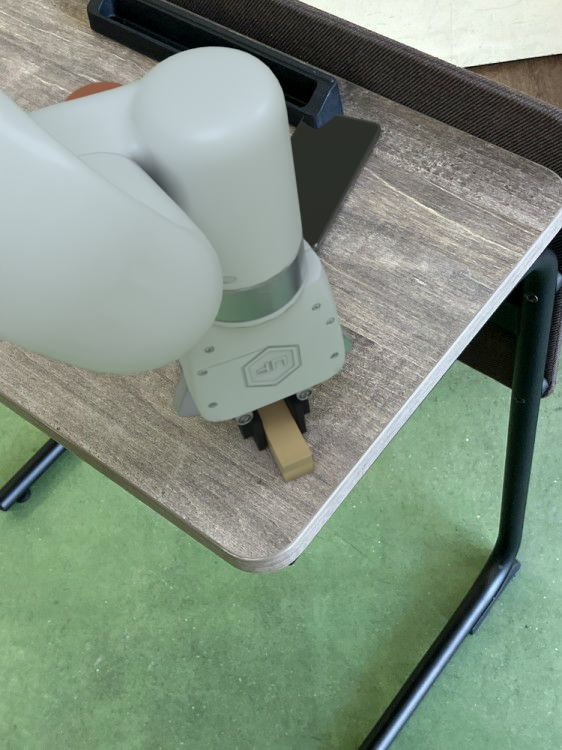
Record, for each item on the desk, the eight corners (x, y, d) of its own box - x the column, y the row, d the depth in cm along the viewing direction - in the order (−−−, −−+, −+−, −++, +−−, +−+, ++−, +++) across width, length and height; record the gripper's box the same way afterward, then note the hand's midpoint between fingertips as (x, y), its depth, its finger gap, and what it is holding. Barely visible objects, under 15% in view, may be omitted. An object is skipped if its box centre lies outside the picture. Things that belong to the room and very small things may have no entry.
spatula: (332, 463, 67) (330, 446, 65) (267, 491, 66) (263, 475, 64) (254, 311, 75) (250, 292, 73) (195, 335, 74) (189, 316, 72)
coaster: (73, 145, 88) (71, 140, 88) (54, 101, 92) (52, 96, 91) (144, 120, 89) (143, 115, 88) (123, 77, 93) (121, 72, 92)
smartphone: (383, 122, 84) (314, 250, 76) (384, 131, 85) (315, 260, 77) (307, 106, 86) (232, 229, 78) (308, 115, 87) (234, 238, 79)
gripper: (124, 361, 51) (188, 512, 66) (397, 254, 53) (398, 424, 68) (86, 265, 55) (155, 427, 70) (341, 169, 57) (354, 347, 72)
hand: (275, 424), depth 69 cm, fingers closed on spatula, 2 cm apart
